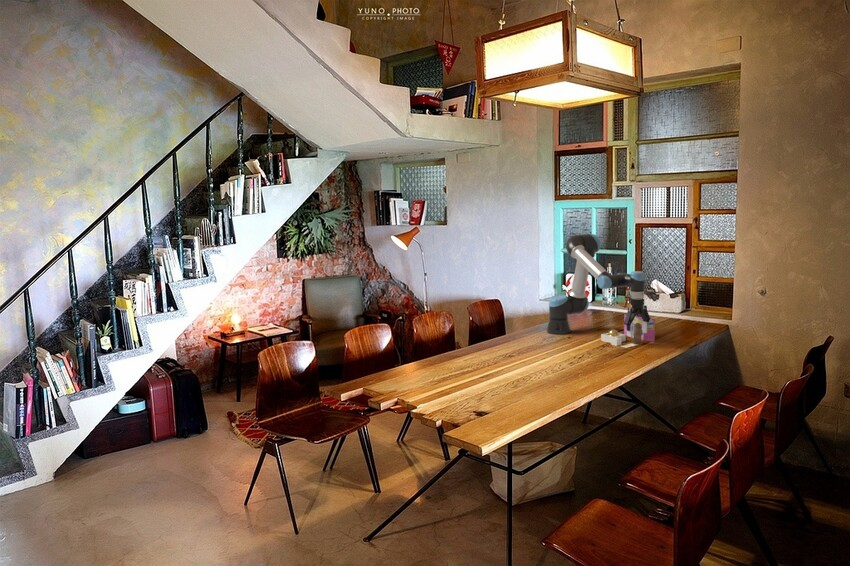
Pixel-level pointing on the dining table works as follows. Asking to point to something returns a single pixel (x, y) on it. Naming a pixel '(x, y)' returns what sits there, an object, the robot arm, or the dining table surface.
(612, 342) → the die
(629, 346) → the board
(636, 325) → the brown rounded rod
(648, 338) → the gum box
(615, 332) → the dome
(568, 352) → the dining table surface
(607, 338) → the dome collar
